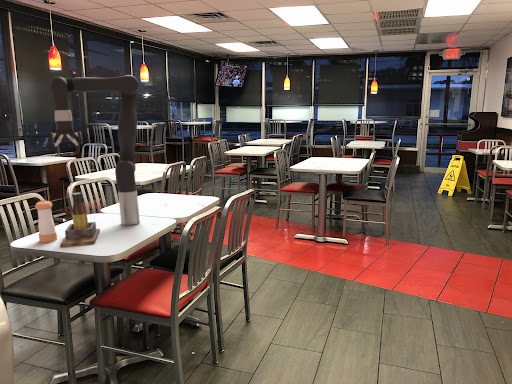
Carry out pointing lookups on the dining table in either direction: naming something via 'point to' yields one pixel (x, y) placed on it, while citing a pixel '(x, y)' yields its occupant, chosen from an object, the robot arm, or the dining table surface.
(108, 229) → the dining table surface
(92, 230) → the stone serving dish
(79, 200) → the sauce bottle
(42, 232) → the pepper shaker
